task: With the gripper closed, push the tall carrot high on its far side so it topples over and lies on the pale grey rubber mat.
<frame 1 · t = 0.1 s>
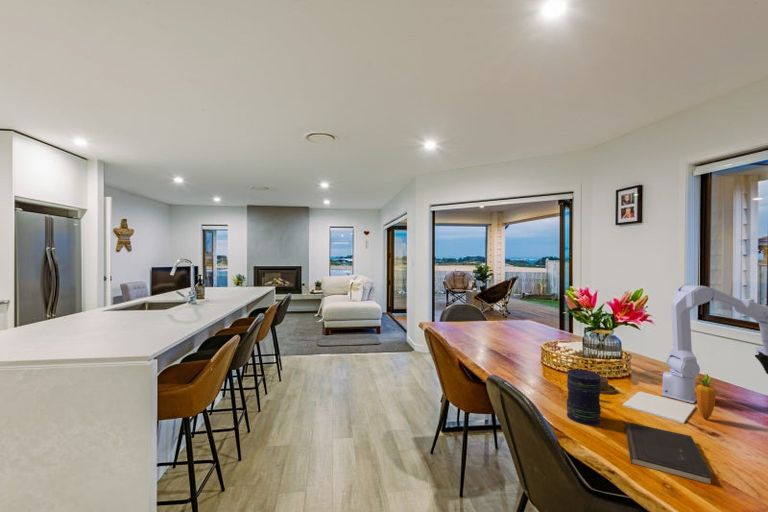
hardcover book: (662, 454, 96), on the table
storage jar: (583, 419, 116), on the table
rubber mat: (659, 406, 126), on the table
carrot: (705, 420, 116), on the table
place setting: (591, 392, 141), on the table
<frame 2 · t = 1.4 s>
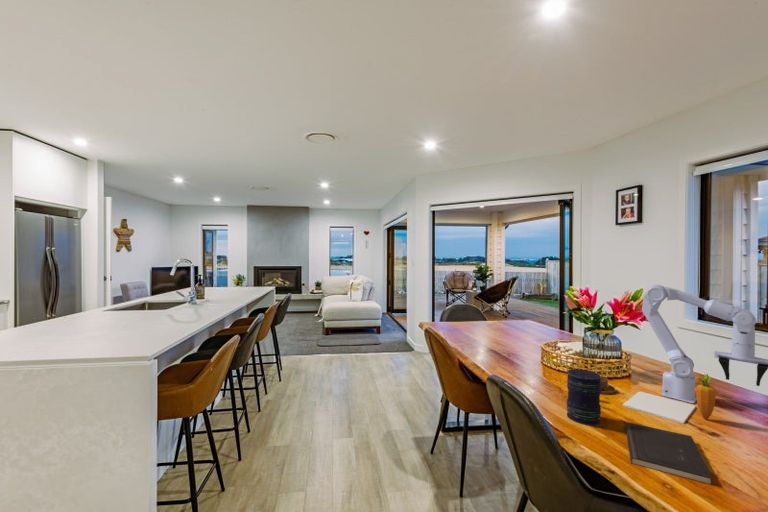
hand: (742, 382, 123), 10 cm above the table, tool pointing down, fingers open, 7 cm apart
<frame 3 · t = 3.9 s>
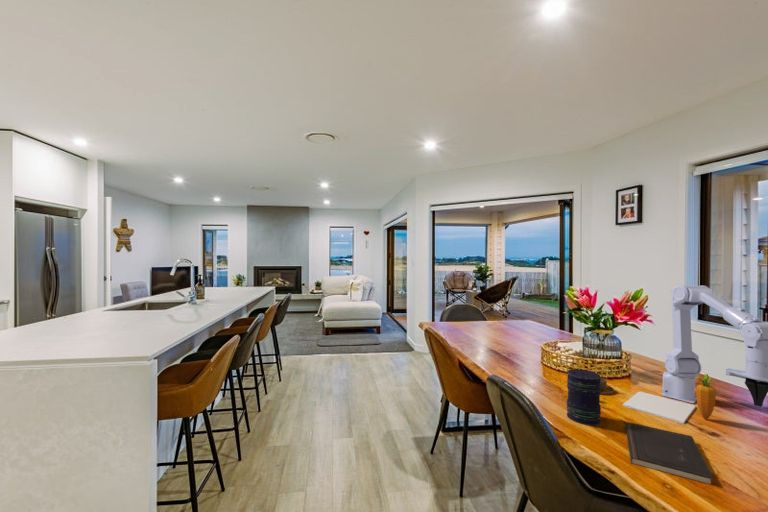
hand: (758, 405, 107), 9 cm above the table, tool pointing down, fingers closed
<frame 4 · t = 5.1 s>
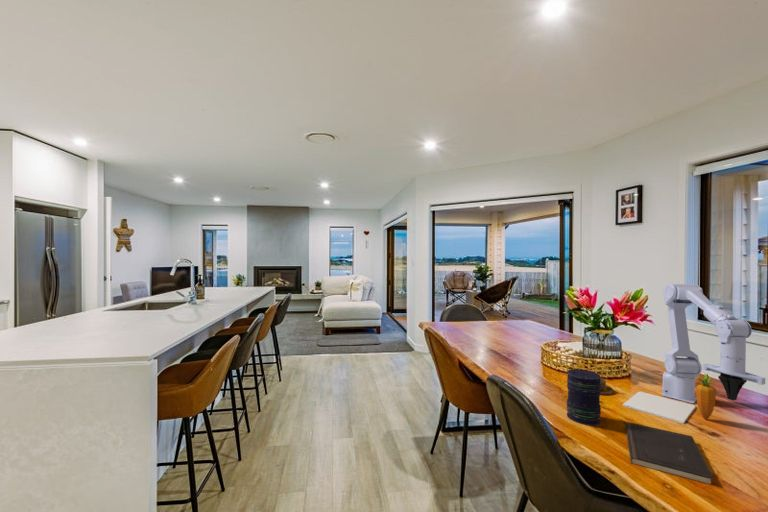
hand: (732, 399, 111), 9 cm above the table, tool pointing down, fingers closed
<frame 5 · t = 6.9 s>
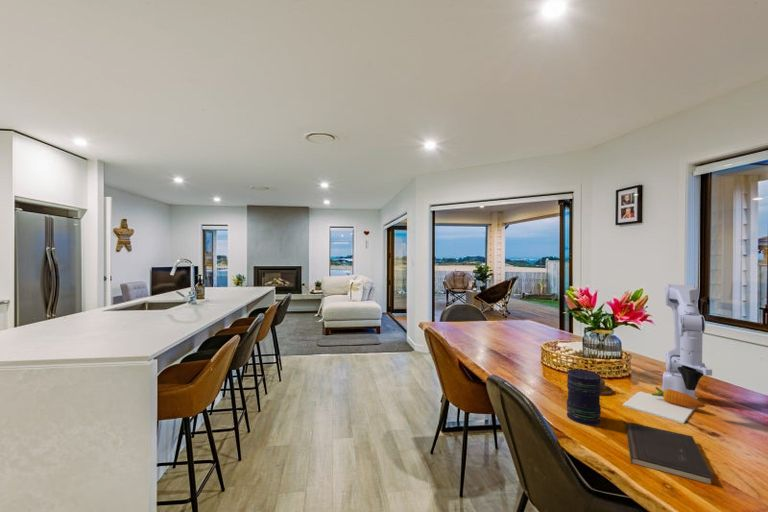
hand: (690, 389, 119), 9 cm above the table, tool pointing down, fingers closed
carrot: (705, 406, 120), point 3 cm above the table, touching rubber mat
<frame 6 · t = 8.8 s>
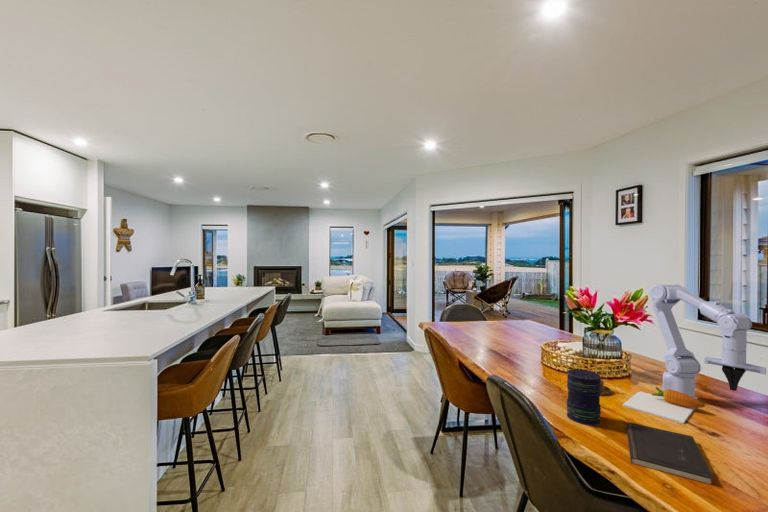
hand: (733, 389, 117), 10 cm above the table, tool pointing down, fingers closed
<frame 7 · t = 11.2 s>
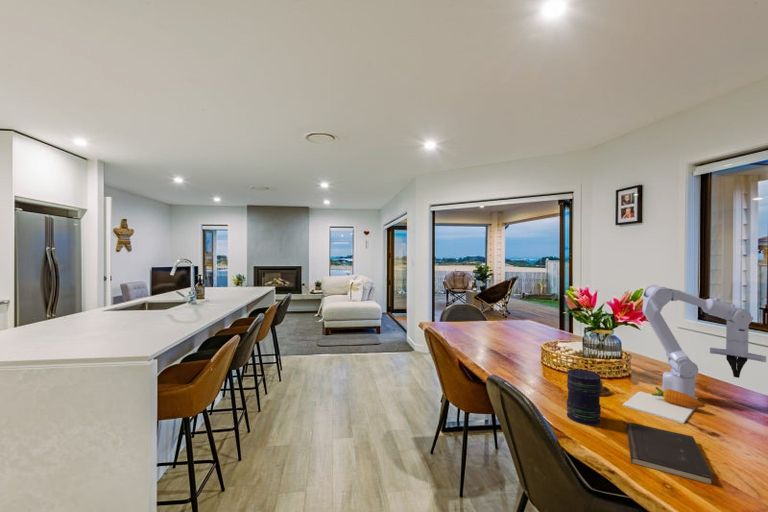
hand: (736, 376, 128), 10 cm above the table, tool pointing down, fingers closed
at the end: carrot tilted 89°; carrot touching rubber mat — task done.
